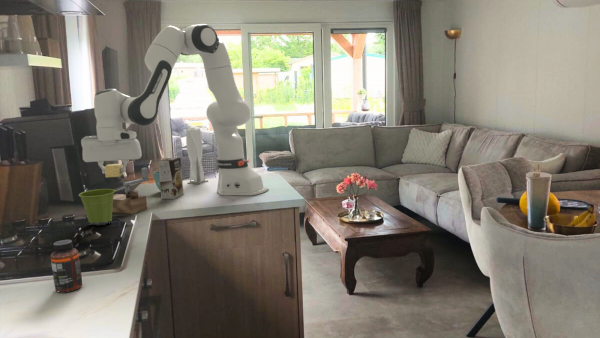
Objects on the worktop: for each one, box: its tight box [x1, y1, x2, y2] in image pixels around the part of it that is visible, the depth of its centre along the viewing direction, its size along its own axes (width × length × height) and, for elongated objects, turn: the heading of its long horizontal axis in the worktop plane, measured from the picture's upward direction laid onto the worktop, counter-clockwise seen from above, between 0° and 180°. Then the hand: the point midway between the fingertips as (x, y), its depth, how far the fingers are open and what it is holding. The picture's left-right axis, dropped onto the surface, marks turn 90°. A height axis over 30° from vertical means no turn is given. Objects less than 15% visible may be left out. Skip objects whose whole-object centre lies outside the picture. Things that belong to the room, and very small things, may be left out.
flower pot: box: [152, 170, 161, 192], centre depth 235 cm, size 9×9×9 cm
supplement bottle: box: [50, 239, 83, 293], centre depth 123 cm, size 6×6×11 cm
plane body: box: [112, 190, 148, 215], centre depth 202 cm, size 15×8×8 cm, turn 64°
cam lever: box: [122, 167, 150, 198], centre depth 204 cm, size 11×2×10 cm, turn 149°
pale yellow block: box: [103, 163, 124, 178], centre depth 192 cm, size 5×5×4 cm
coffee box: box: [157, 157, 184, 200], centre depth 222 cm, size 9×6×16 cm
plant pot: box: [78, 188, 116, 223], centre depth 182 cm, size 12×12×11 cm
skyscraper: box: [185, 123, 209, 185], centre depth 252 cm, size 8×8×28 cm
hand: (114, 172), depth 192 cm, fingers closed on pale yellow block, 5 cm apart
